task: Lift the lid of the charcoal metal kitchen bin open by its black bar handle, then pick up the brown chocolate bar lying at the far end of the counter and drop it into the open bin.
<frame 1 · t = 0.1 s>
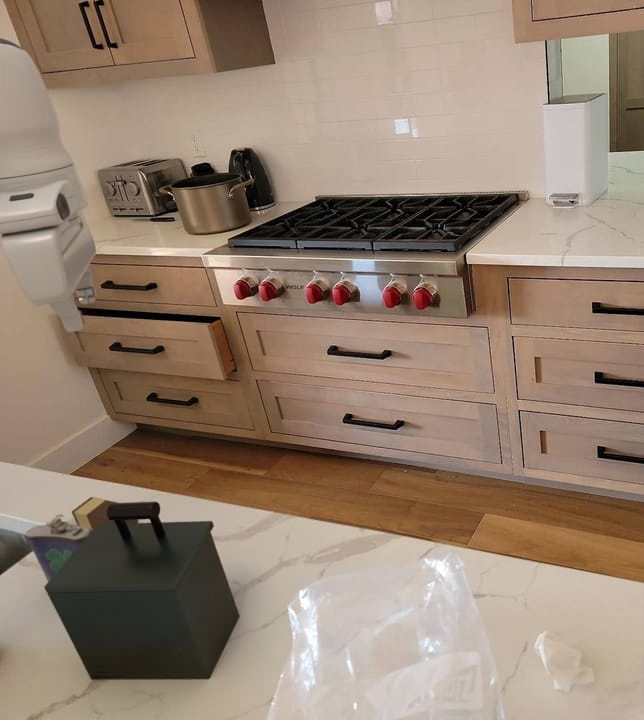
hand: (83, 314, 80), 34 cm above the countertop, tool pointing down, fingers open, 8 cm apart
bin lid: (126, 539, 71), point 15 cm above the countertop, hinge at 0.0°
bin: (168, 646, 77), on the countertop
chocolate: (108, 524, 99), on the countertop
flask: (85, 585, 88), on the countertop
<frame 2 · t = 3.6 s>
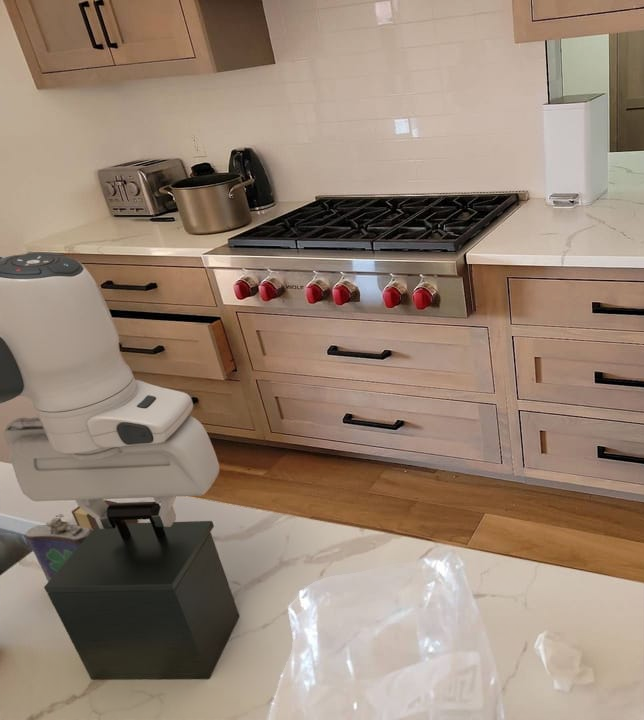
hand: (139, 524, 73), 15 cm above the countertop, tool pointing down, fingers closed on bin lid, 5 cm apart
bin lid: (126, 539, 71), point 15 cm above the countertop, hinge at 0.1°, touching gripper
everything else where it was.
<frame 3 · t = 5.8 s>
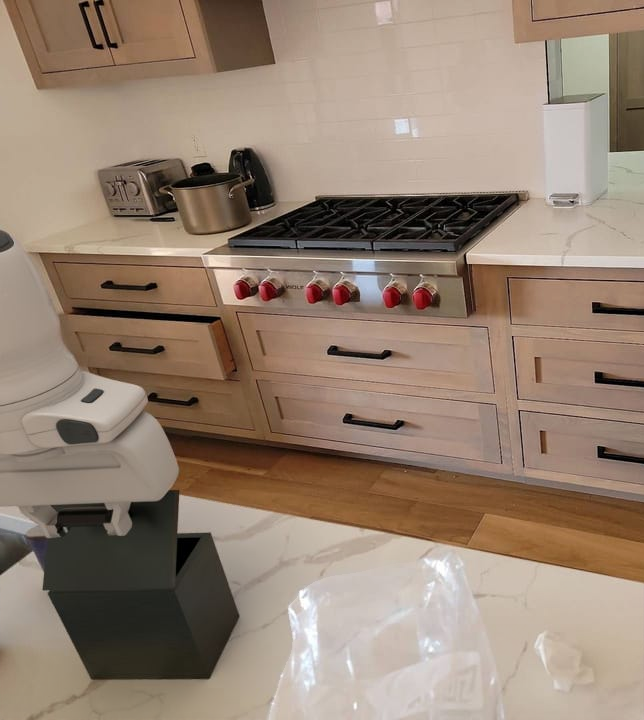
hand: (91, 532, 66), 20 cm above the countertop, tool pointing down, fingers closed on bin lid, 5 cm apart
bin lid: (97, 541, 66), point 18 cm above the countertop, hinge at 53.0°, touching gripper
everything else where it was.
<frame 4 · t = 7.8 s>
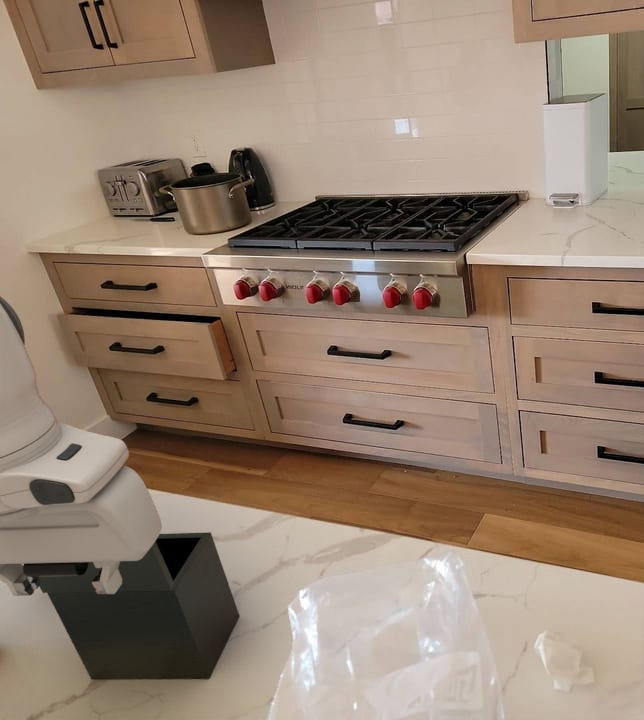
hand: (69, 589, 62), 17 cm above the countertop, tool pointing down, fingers open, 7 cm apart
bin lid: (77, 571, 63), point 18 cm above the countertop, hinge at 92.4°
everything else where it was.
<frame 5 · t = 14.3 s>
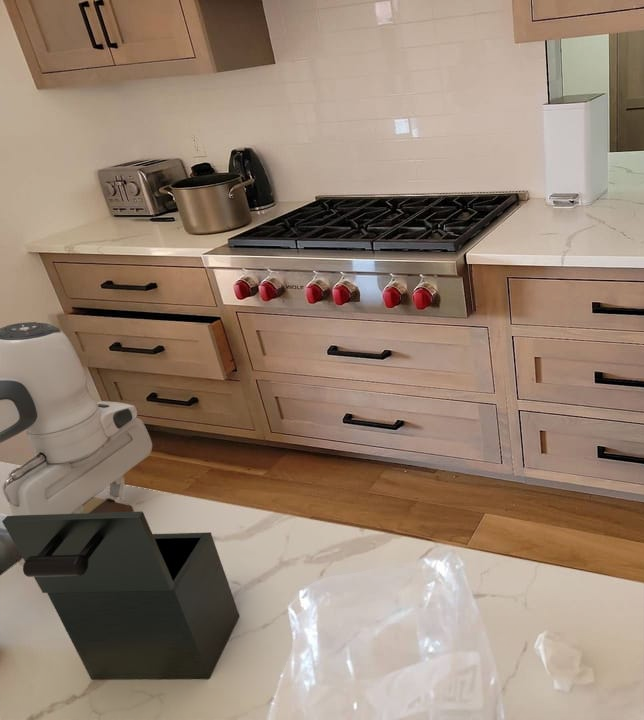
hand: (104, 515, 98), 2 cm above the countertop, tool pointing down, fingers closed on chocolate, 3 cm apart
chocolate: (108, 524, 99), on the countertop, touching gripper
everything else where it was.
when the fingers open (17 cm above the countertop, at t = 22.2 s): chocolate drops 13 cm and tips over, resting on bin.
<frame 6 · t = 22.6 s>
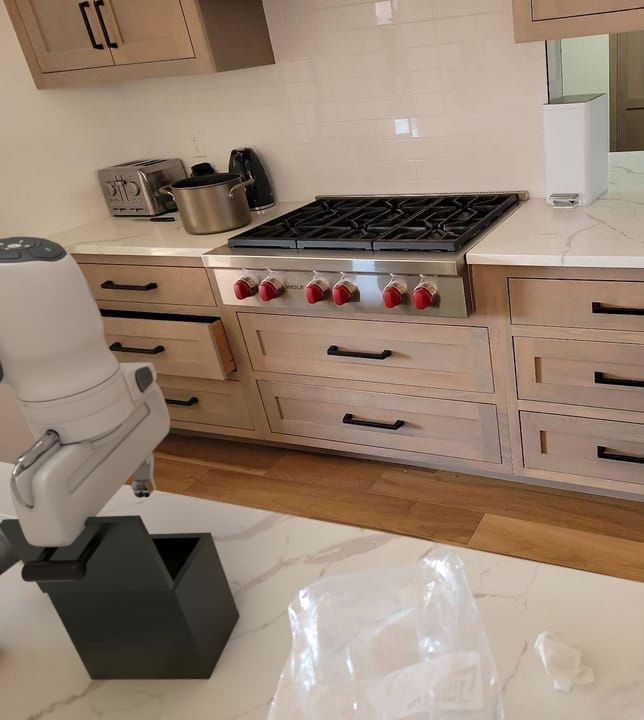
hand: (126, 519, 71), 17 cm above the countertop, tool pointing down, fingers open, 7 cm apart
bin lid: (76, 574, 63), point 18 cm above the countertop, hinge at 95.5°, touching gripper
chocolate: (161, 625, 77), point 3 cm above the countertop, tilted 91°, touching bin
everything else where it was.
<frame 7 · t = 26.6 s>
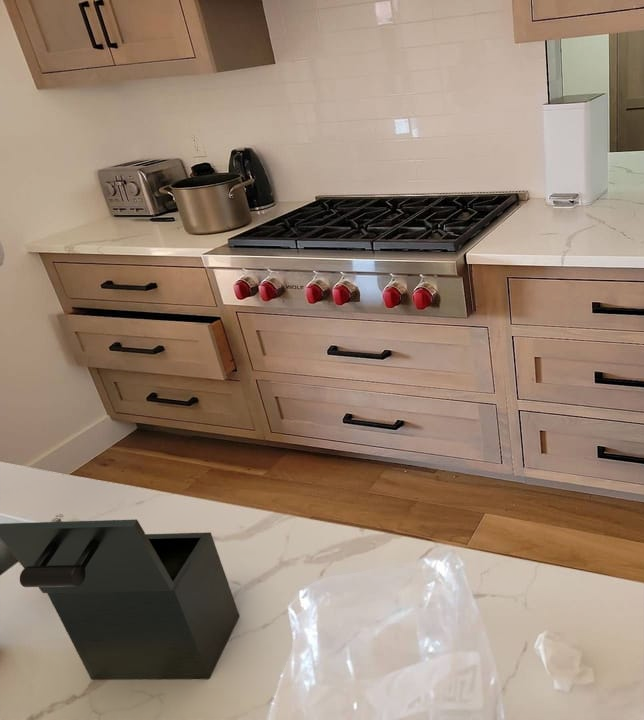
bin lid: (75, 577, 63), point 18 cm above the countertop, hinge at 98.6°
everything else where it was.
at the end: bin lid at +99° (first picture: +0°); chocolate inside the target area in the bin (0.9 cm from its centre), point 2.6 cm above the bin's base; the gripper is holding nothing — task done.
